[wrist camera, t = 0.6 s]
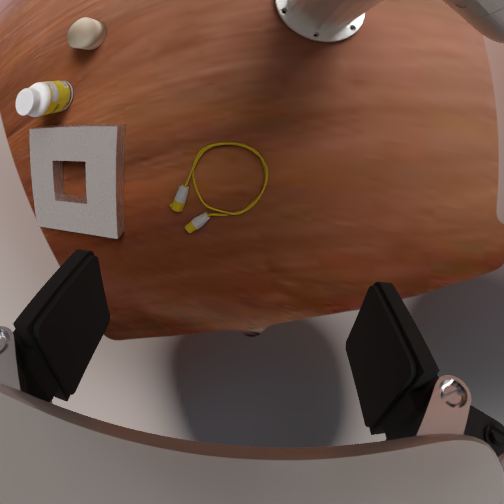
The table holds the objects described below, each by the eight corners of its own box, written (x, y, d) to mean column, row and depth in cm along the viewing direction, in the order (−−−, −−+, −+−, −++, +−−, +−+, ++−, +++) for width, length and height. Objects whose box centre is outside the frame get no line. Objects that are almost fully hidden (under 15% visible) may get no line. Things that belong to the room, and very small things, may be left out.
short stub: (83, 24, 28) (70, 20, 25) (109, 19, 29) (97, 15, 25) (78, 51, 31) (64, 49, 27) (104, 48, 31) (91, 45, 28)
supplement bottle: (51, 115, 36) (14, 124, 27) (49, 85, 33) (11, 90, 25) (75, 107, 35) (37, 114, 27) (73, 76, 33) (35, 77, 24)
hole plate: (40, 126, 36) (29, 129, 34) (126, 124, 37) (117, 126, 35) (46, 219, 45) (37, 226, 43) (124, 230, 46) (117, 238, 44)
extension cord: (156, 163, 41) (151, 166, 39) (256, 130, 39) (256, 131, 37) (184, 232, 47) (181, 237, 45) (278, 206, 44) (279, 211, 43)
